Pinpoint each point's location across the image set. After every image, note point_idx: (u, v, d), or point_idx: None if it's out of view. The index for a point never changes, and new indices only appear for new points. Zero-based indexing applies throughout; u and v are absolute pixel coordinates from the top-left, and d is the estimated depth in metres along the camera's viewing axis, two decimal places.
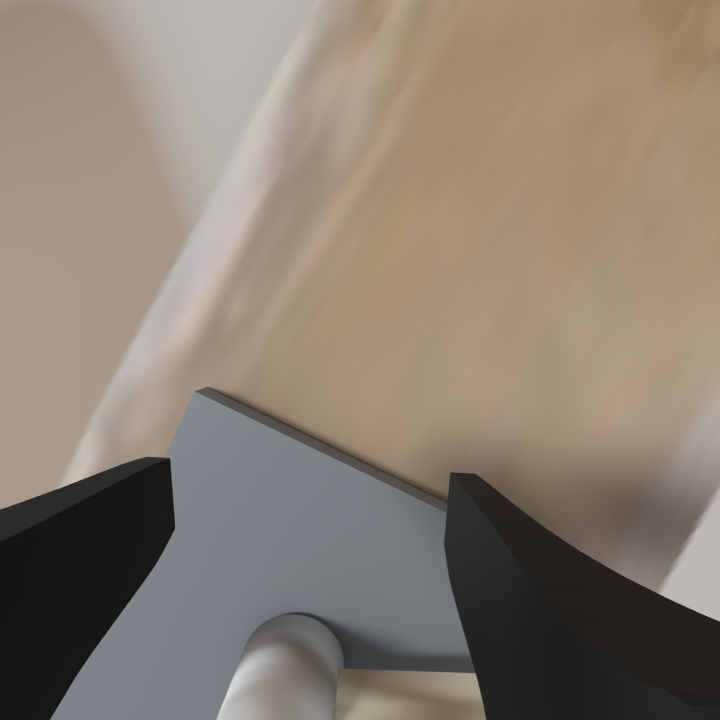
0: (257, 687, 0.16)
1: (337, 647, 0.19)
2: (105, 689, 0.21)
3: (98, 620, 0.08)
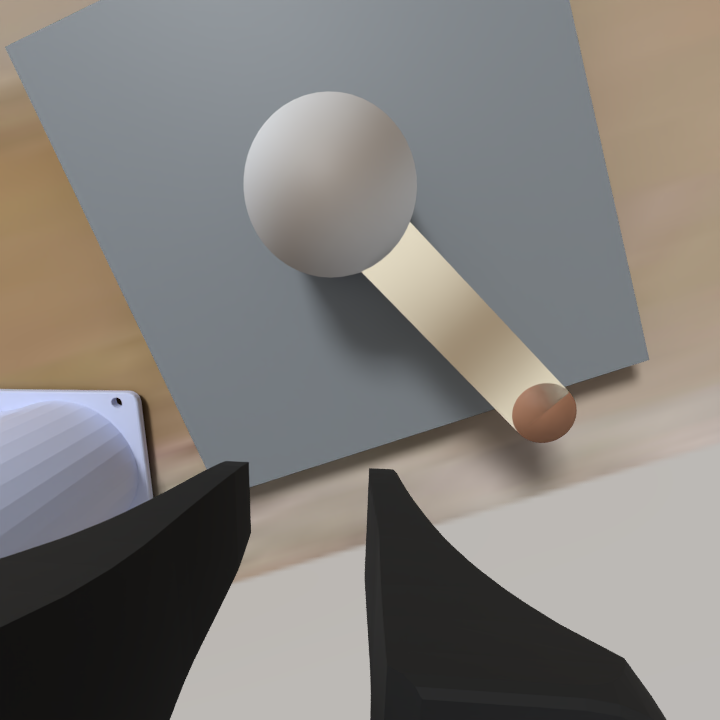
0: None
1: None
2: (125, 62, 0.15)
3: (198, 627, 0.08)
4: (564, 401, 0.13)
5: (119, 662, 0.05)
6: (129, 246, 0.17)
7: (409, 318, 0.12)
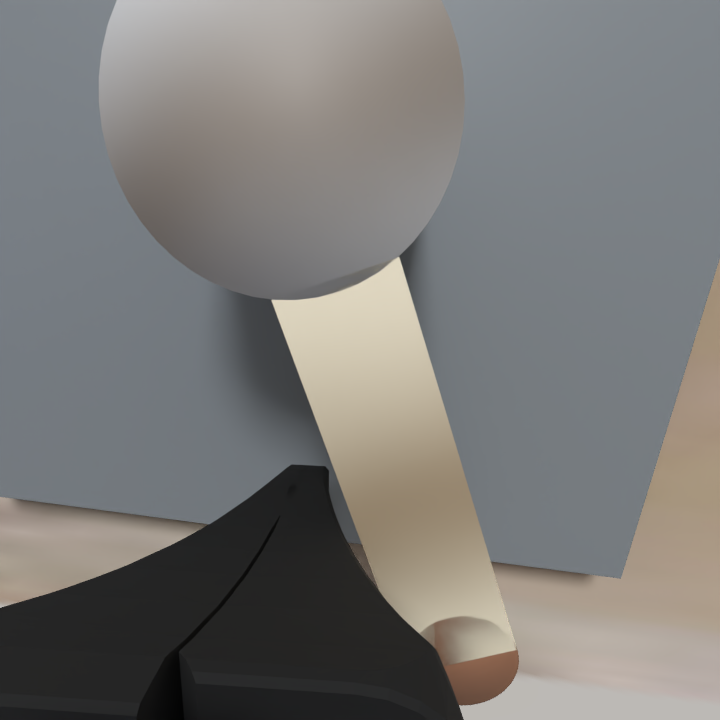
0: None
1: None
2: None
3: None
4: (501, 658, 0.07)
5: None
6: None
7: (319, 420, 0.06)
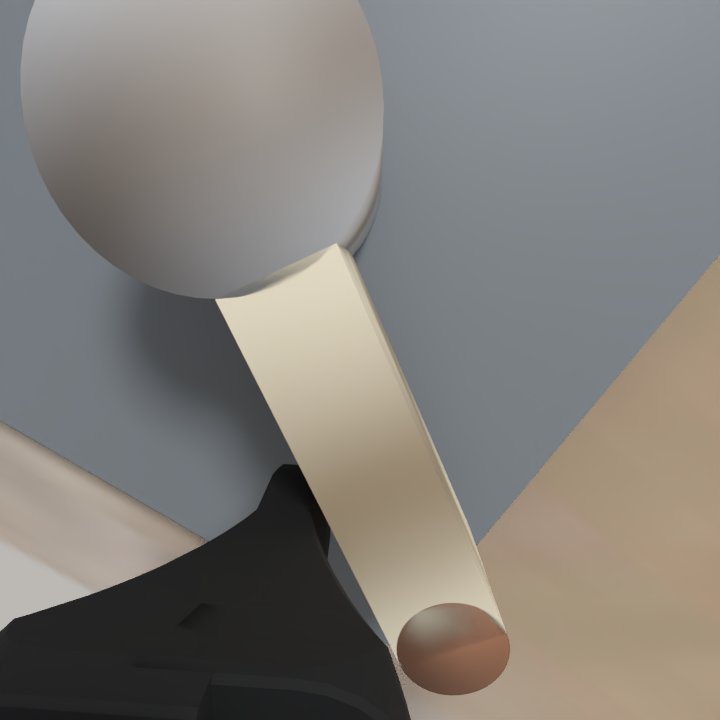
0: None
1: (360, 244, 0.10)
2: None
3: None
4: (492, 643, 0.07)
5: None
6: None
7: (277, 416, 0.06)
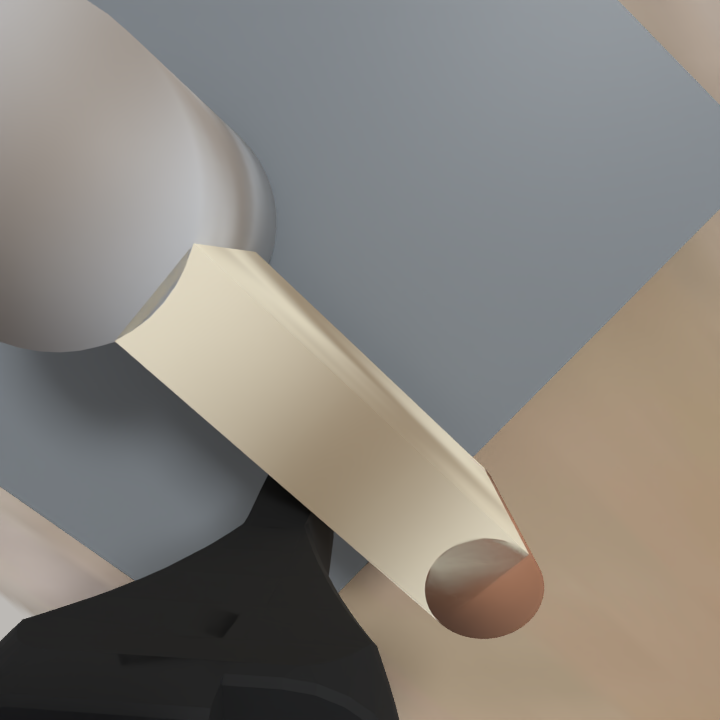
0: (103, 15, 0.06)
1: (269, 242, 0.10)
2: None
3: None
4: (519, 569, 0.07)
5: None
6: None
7: (216, 425, 0.07)
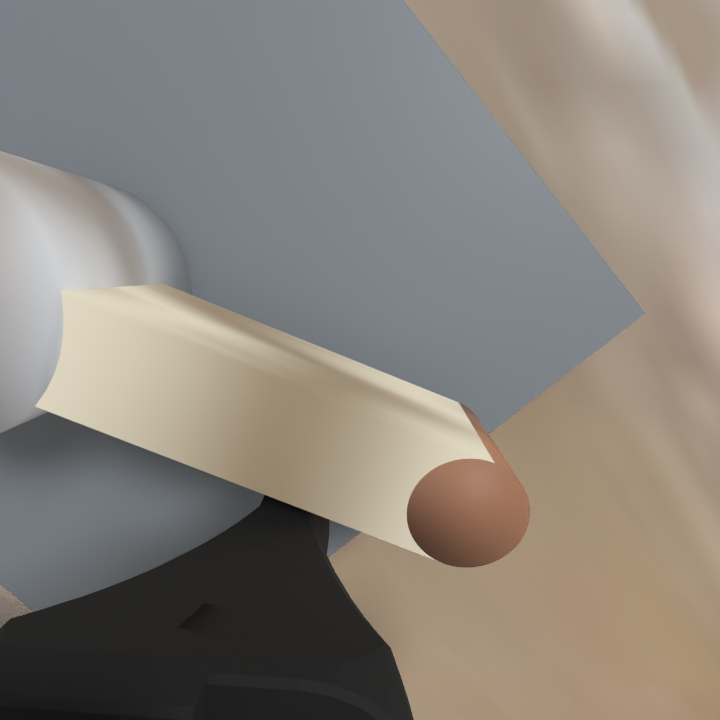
0: None
1: (181, 271, 0.10)
2: None
3: None
4: (492, 482, 0.07)
5: None
6: None
7: (153, 449, 0.07)
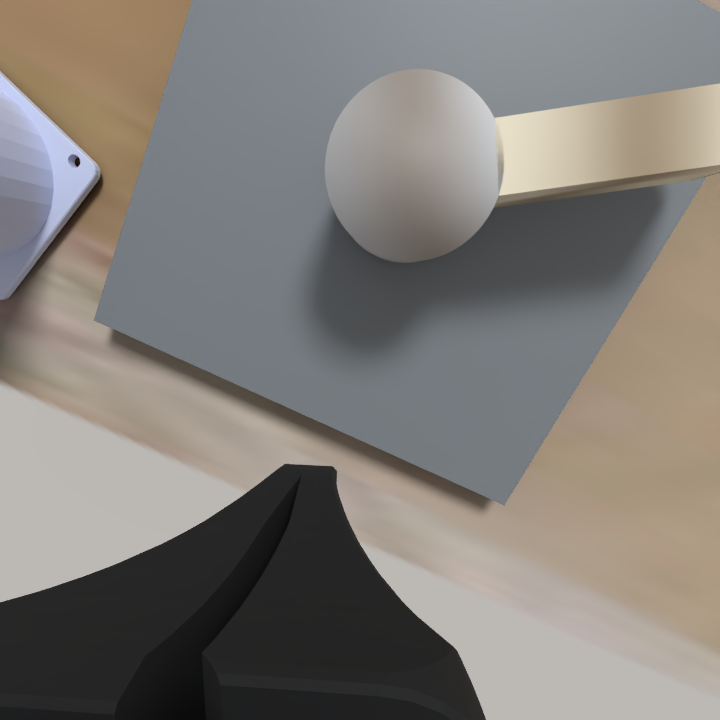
0: None
1: None
2: None
3: None
4: None
5: None
6: (211, 47, 0.15)
7: (572, 183, 0.11)
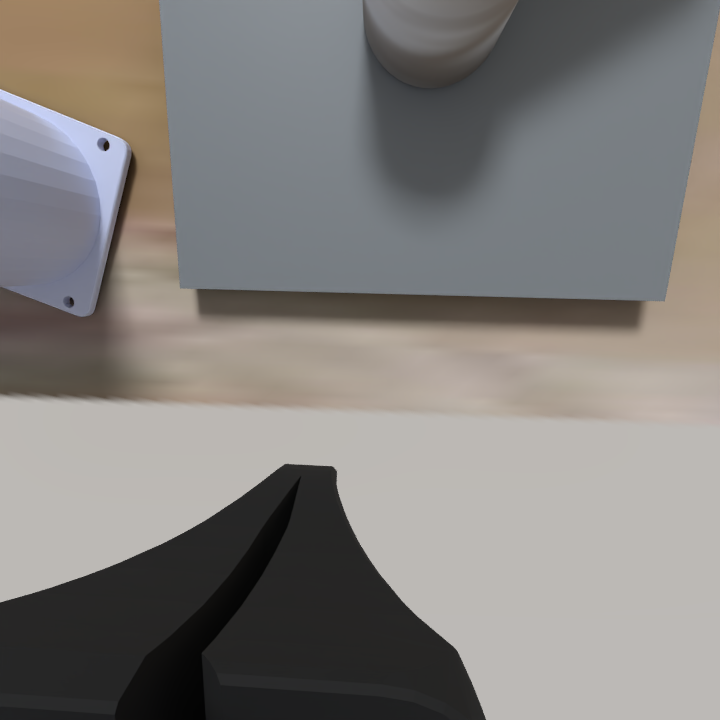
0: None
1: None
2: None
3: None
4: None
5: None
6: None
7: None
